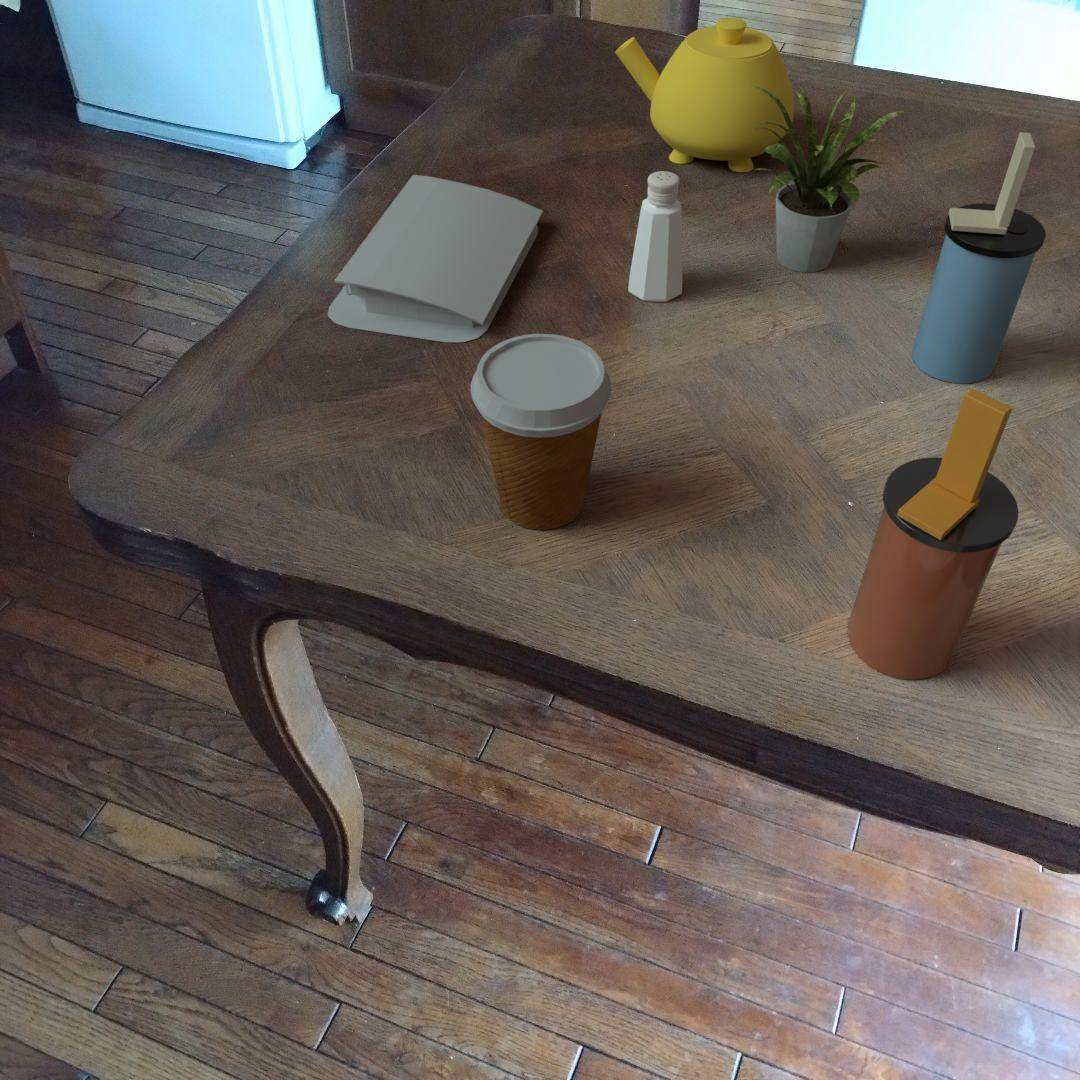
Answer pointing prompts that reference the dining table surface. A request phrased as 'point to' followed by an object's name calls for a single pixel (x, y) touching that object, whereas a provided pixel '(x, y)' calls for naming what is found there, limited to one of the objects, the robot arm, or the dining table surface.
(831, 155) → the house plant
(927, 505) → the near slider
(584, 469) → the disposable coffee cup
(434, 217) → the book
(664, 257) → the salt shaker
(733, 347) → the dining table surface
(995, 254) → the disc
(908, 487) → the near tumbler
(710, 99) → the teapot
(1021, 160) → the block
